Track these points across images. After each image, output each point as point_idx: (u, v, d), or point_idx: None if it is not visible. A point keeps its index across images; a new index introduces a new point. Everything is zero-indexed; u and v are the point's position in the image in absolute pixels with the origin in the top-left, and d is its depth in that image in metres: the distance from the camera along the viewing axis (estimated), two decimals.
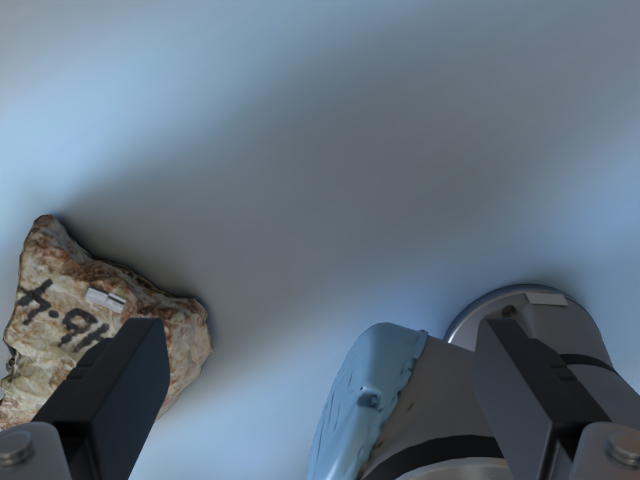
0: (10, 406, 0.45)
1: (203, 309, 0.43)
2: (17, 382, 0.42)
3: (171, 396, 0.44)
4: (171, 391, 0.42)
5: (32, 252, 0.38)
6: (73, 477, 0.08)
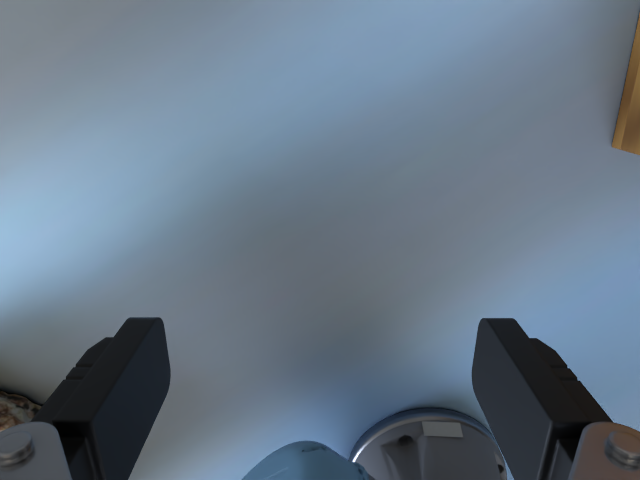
0: None
1: None
2: None
3: None
4: None
5: None
6: (73, 477, 0.08)
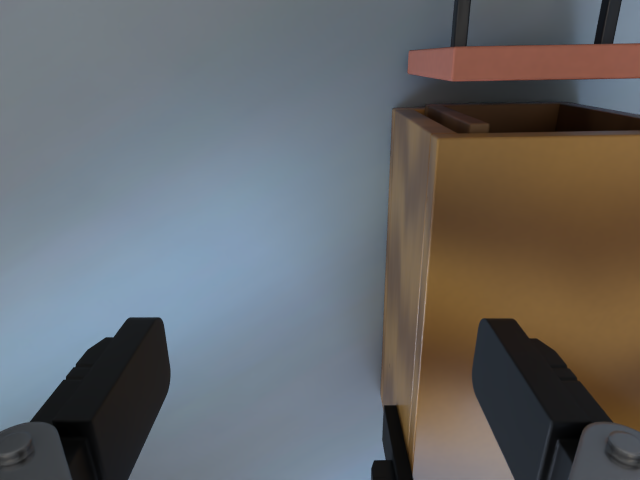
0: None
1: None
2: None
3: None
4: None
5: None
6: (73, 477, 0.08)
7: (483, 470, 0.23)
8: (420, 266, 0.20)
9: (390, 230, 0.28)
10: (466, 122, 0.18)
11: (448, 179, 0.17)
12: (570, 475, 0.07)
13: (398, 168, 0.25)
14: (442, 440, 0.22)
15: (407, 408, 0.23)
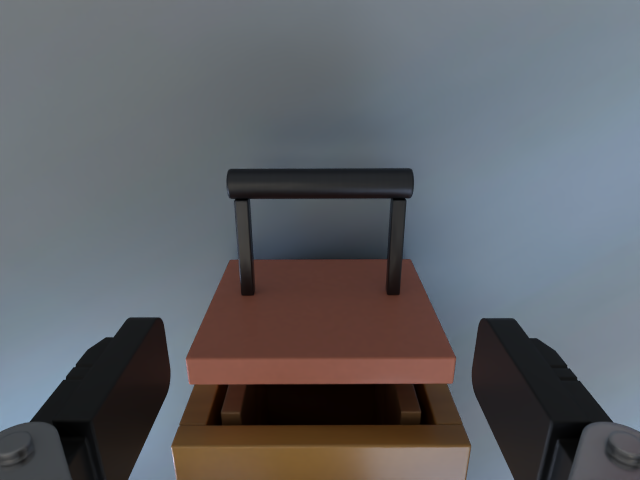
0: None
1: None
2: None
3: None
4: None
5: None
6: (73, 477, 0.08)
7: None
8: None
9: None
10: (224, 402, 0.18)
11: (189, 478, 0.17)
12: (570, 475, 0.07)
13: None
14: None
15: None
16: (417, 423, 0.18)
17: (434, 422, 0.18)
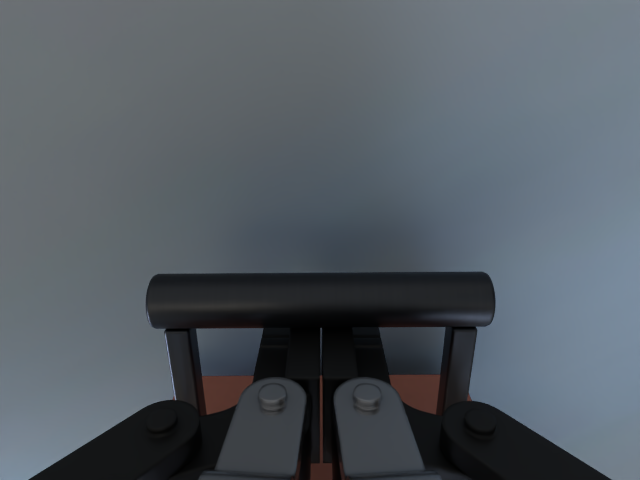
0: None
1: None
2: None
3: None
4: None
5: None
6: (310, 427, 0.09)
7: None
8: None
9: None
10: None
11: None
12: (341, 446, 0.07)
13: None
14: None
15: None
16: None
17: None
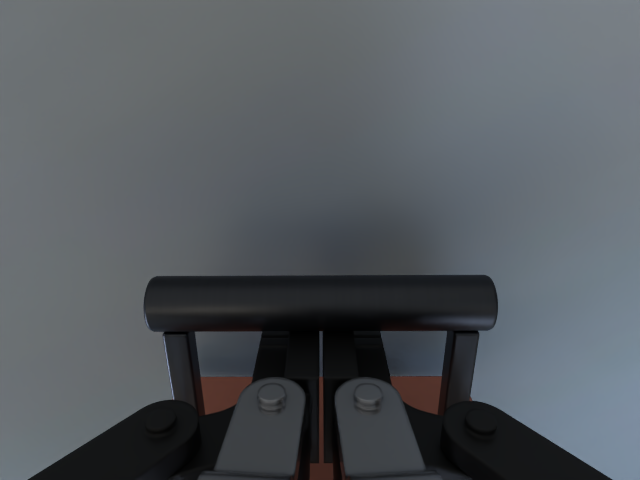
0: None
1: None
2: None
3: None
4: None
5: None
6: (309, 427, 0.09)
7: None
8: None
9: None
10: None
11: None
12: (342, 445, 0.07)
13: None
14: None
15: None
16: None
17: None
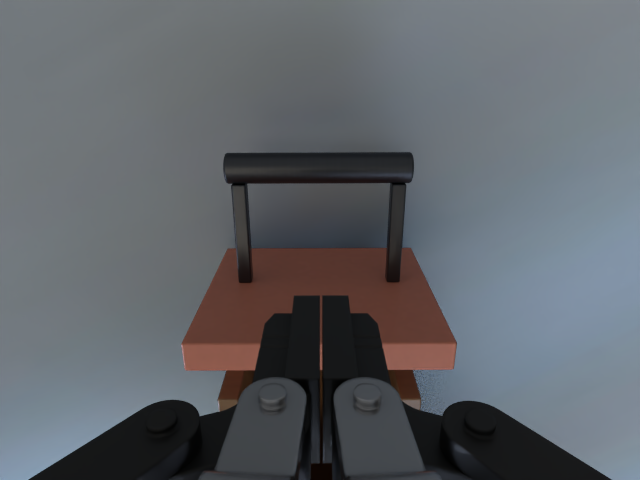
0: None
1: None
2: None
3: None
4: None
5: None
6: (310, 427, 0.09)
7: None
8: None
9: None
10: (220, 390, 0.18)
11: None
12: (341, 445, 0.07)
13: None
14: None
15: None
16: None
17: None
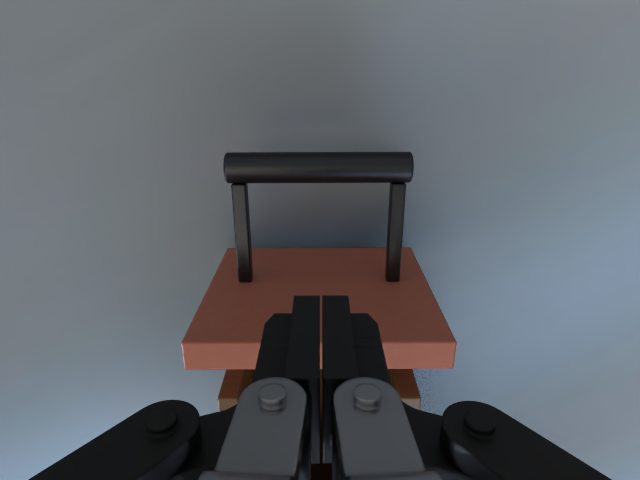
0: None
1: None
2: None
3: None
4: None
5: None
6: (310, 427, 0.09)
7: None
8: None
9: None
10: (220, 389, 0.18)
11: None
12: (341, 445, 0.07)
13: None
14: None
15: None
16: None
17: None
